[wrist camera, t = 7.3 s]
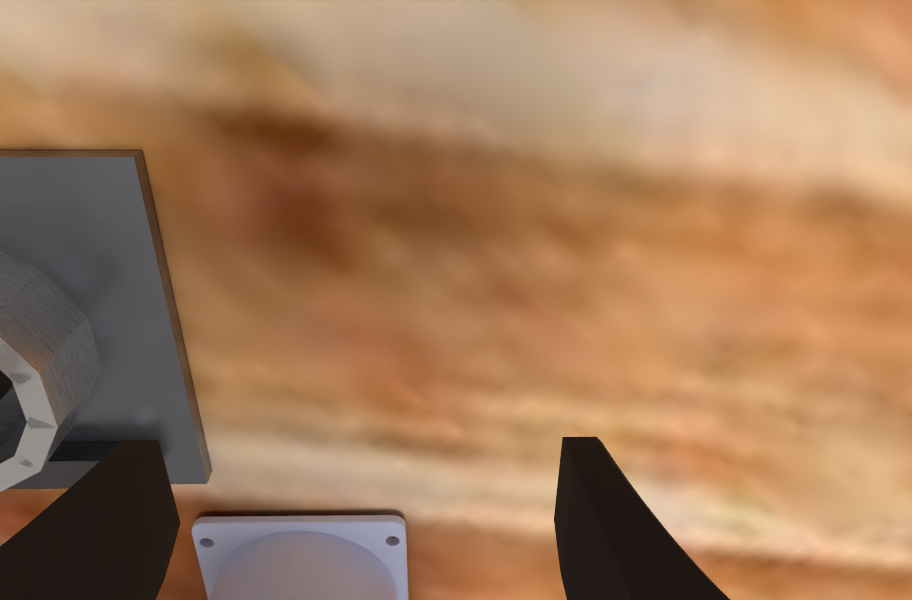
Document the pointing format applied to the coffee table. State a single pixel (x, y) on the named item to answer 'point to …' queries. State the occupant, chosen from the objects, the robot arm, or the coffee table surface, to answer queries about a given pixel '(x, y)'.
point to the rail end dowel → (5, 385)
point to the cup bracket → (88, 321)
